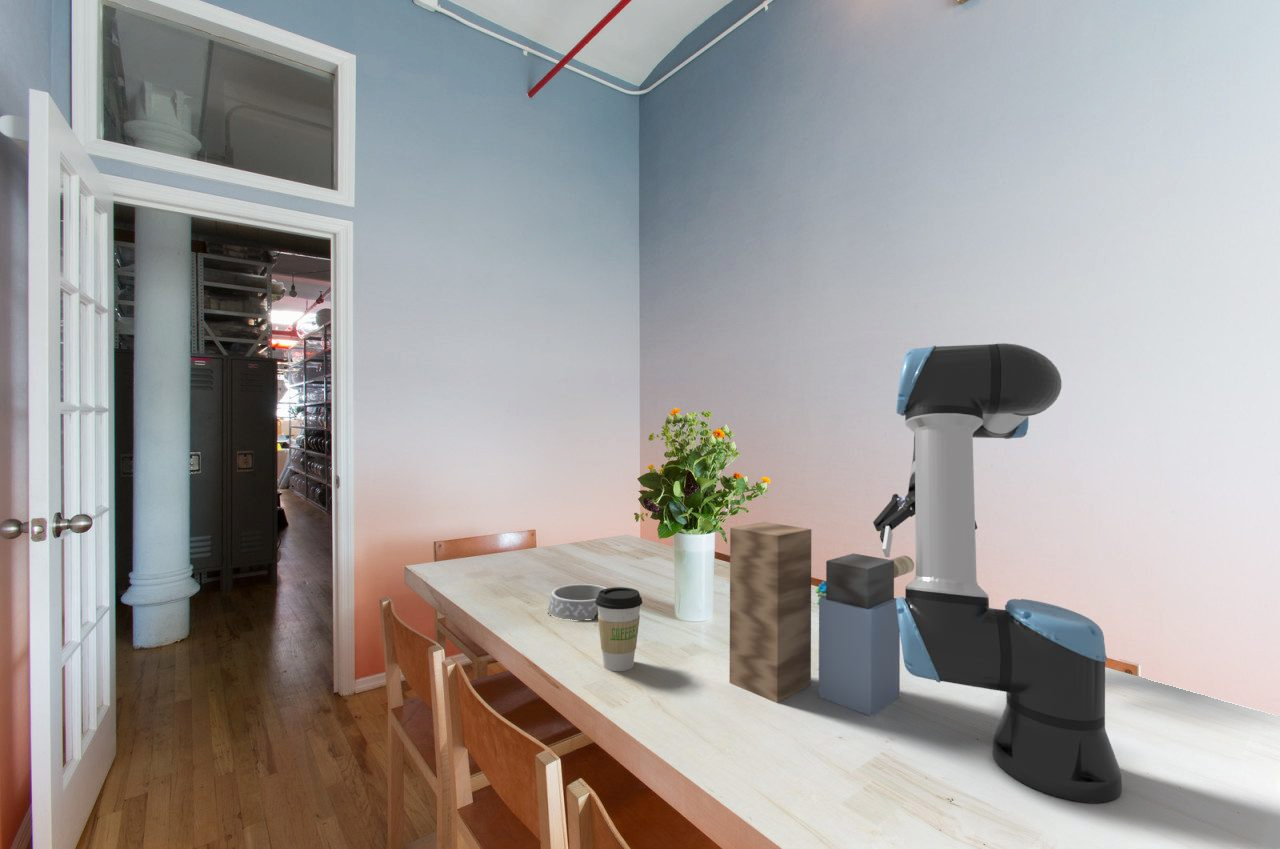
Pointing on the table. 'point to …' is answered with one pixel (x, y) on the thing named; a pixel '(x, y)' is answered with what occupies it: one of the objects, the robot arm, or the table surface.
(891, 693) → the slate stand
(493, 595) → the table surface
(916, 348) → the robot arm
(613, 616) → the coffee cup
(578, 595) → the dog bowl
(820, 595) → the blue knobbly piece
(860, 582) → the rubber mallet
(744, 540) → the walnut pedestal
